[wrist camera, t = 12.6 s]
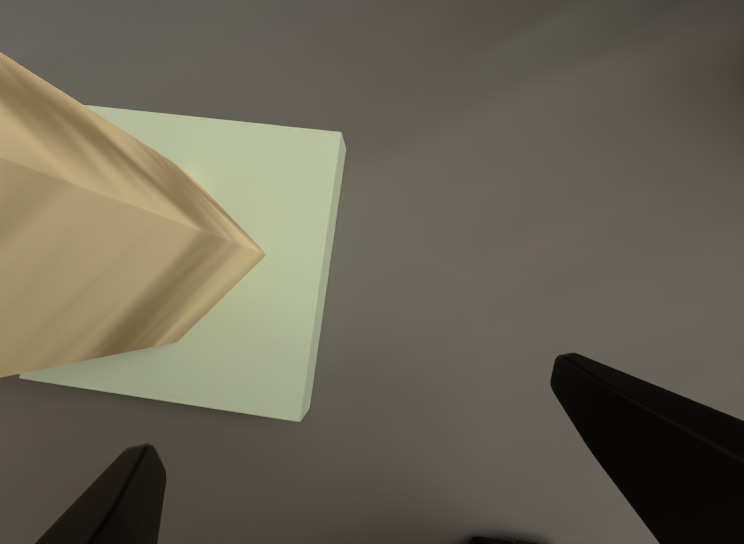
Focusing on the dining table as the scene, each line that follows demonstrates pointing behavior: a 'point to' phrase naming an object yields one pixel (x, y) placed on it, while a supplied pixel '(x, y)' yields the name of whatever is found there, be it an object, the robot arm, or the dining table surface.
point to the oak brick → (99, 235)
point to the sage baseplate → (258, 287)
